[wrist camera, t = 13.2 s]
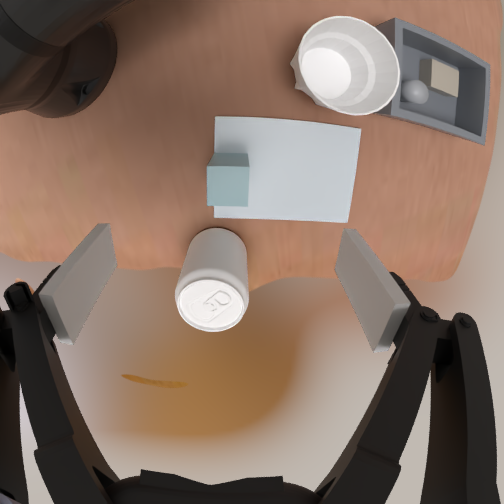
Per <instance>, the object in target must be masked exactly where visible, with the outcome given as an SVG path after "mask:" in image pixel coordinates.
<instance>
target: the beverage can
mask: <svg viewBox="0 0 504 504" xmlns="http://www.w3.org/2000/svg"><path fill="white" fill-rule="evenodd" d="M175 300H176V304H177V307H178V310H179V313H180V315H181V316H182V318H183V319H184V320H185V321H186V322H187V323H188V324H190V325H191V326H193V327H195V328H197V329H200V330H203V331H210V332H216V331H223V330H226V329H229V328H231V327H233V326H234V325H236V324H237V323H238V322H239V321H240V319H241V318H242V316H243V314H244V313H245V311H246V309H247V306H248V302H249V293H248V272H247V252H246V248H245V245H244V243H243V241H242V240H241V239H240V238H239V237H238V236H237V235H236V234H235V233H233V232H231V231H229V230H226V229H222V228H211V229H207V230H204V231H202V232H200V233H199V234H197V235H196V236H195V237H194V238H193V239H192V241H191V243H190V245H189V248H188V251H187V254H186V257H185V261H184V264H183V267H182V270H181V274H180V276H179V280H178V283H177V286H176V290H175Z"/></svg>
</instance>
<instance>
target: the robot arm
mask: <svg viewBox="0 0 504 504" xmlns="http://www.w3.org/2000/svg"><path fill="white" fill-rule="evenodd" d="M132 1H134V0H0V115H1V114H5V113H10V112H15V111H20V110H27V111H30V112H32V113H35V114H37V115H40V116H43V117H47V118H59V117H65V116H70V115H73V114H75V113H78V112H80V111H81V110H83V109H85V108H86V107H87V106H89V105H90V104H91V103H92V102H93V101H94V100H95V99H96V98H97V97H98V96H99V95H100V93H101V92H102V91H103V89H104V88H105V86H106V84H107V83H108V81H109V79H110V77H111V74H112V72H113V69H114V65H115V61H116V54H117V44H116V38H115V35H114V32H113V30H112V28H111V27H110V26H109V24H108V23H107V22H106V21H104V20H103V19H104V18H106V17H107V16H109V15H111V14H112V13H114V12H115V11H117V10H118V9H120V8H122V7H123V6H125V5H127V4H128V3H130V2H132ZM116 267H117V261H116V256H115V251H114V246H113V240H112V235H111V229H110V224H97V225H96V226H95V228H94V229H93V230H92V231H91V232H90V233H89V234H88V235H87V236H86V237H85V238H84V240H83V241H82V242H81V243H80V244H79V245H78V246H77V247H76V249H75V250H74V251H73V252H72V253H71V254H70V255H69V257H68V258H67V259H66V260H65V261H64V263H63V264H62V265H59V266H58V267H56V268H55V269H53V270H52V271H51V272H50V273H49V275H48V276H47V278H45V279H44V281H43V283H41V284H40V286H39V287H38V288H37V290H36V291H35V292H34V293H33V295H32V294H31V291H30V289H29V286H28V284H27V283H26V282H17V283H14V284H13V285H11V286H10V287H8V288H7V289H6V291H5V292H4V298H5V300H6V302H7V304H8V306H9V308H10V310H6V311H2V310H1V308H0V504H29V502H28V491H27V484H26V478H25V471H24V464H23V457H22V446H21V433H20V407H19V405H20V404H19V400H20V399H19V398H20V384H21V388H22V393H23V397H24V401H25V405H26V409H27V413H28V416H29V420H30V423H31V427H32V430H33V433H34V436H35V439H36V442H37V446H38V449H37V450H35V451H34V456H35V460H36V463H37V465H38V468H39V471H40V473H41V475H42V478H43V480H44V483H45V485H46V487H47V489H48V491H49V494H50V496H51V498H52V500H53V502H54V504H385V502H386V500H387V498H388V496H389V494H390V492H391V491H392V489H393V486H394V484H395V482H396V480H397V478H398V476H399V473H400V471H401V466H400V465H399V460H400V457H401V455H402V452H403V450H404V448H405V445H406V443H407V440H408V438H409V435H410V432H411V430H412V427H413V425H414V422H415V419H416V416H417V413H418V410H419V407H420V404H421V401H422V397H423V394H424V391H425V388H426V384H427V380H428V377H429V373H430V371H431V411H430V432H429V445H428V454H427V463H426V470H425V478H424V483H423V489H422V495H421V501H420V504H501V503H500V499H499V493H498V488H497V484H496V476H497V449H496V448H497V447H496V429H495V417H494V408H493V400H492V393H491V387H490V381H489V375H488V370H487V365H486V360H485V356H484V351H483V347H482V343H481V339H480V335H479V331H478V328H477V324H476V322H475V321H474V320H473V318H472V317H471V316H469V315H468V314H465V313H456V314H455V315H454V317H453V319H452V321H449V320H443V319H440V317H439V315H438V313H436V312H435V311H434V310H433V309H431V308H429V307H425V306H421V305H420V303H419V302H418V301H417V299H416V298H415V296H414V295H413V293H412V292H411V291H409V288H408V287H407V286H406V285H405V283H404V281H403V280H402V279H401V277H399V276H398V275H397V274H395V273H394V272H388V270H387V269H386V268H385V266H384V265H383V264H382V262H381V261H380V260H379V258H378V257H377V256H376V254H375V253H374V252H373V250H372V249H371V248H370V247H369V245H368V244H367V243H366V241H365V240H364V239H363V238H362V236H361V235H360V234H359V233H358V231H357V230H356V229H343V233H342V238H341V243H340V248H339V252H338V257H337V261H336V266H335V272H336V274H337V276H338V278H339V280H340V282H341V284H342V286H343V288H344V290H345V292H346V294H347V296H348V298H349V300H350V302H351V304H352V306H353V309H354V310H355V313H356V315H357V317H358V319H359V321H360V324H361V325H362V328H363V330H364V332H365V335H366V337H367V339H368V341H369V344H370V346H371V348H372V350H373V353H374V352H382V351H388V350H389V348H390V346H391V344H392V342H394V344H395V346H396V349H395V351H394V353H393V354H392V356H391V358H390V360H389V362H388V367H387V369H386V372H385V373H384V376H383V378H382V380H381V382H380V384H379V386H378V389H377V391H376V393H375V395H374V397H373V399H372V401H371V403H370V405H369V407H368V409H367V411H366V413H365V414H364V417H363V418H362V420H361V422H360V424H359V425H358V427H357V429H356V431H355V432H354V434H353V436H352V438H351V439H350V441H349V443H348V444H347V446H346V448H345V449H344V451H343V452H342V454H341V456H340V457H339V459H338V460H337V462H336V464H335V465H334V467H333V468H332V469H331V471H330V472H329V474H328V475H327V476H326V477H325V479H324V480H323V481H322V482H321V484H320V485H319V486H318V487H317V489H316V490H315V491H314V492H313V491H311V490H309V489H307V488H304V487H302V486H299V485H296V484H291V483H286V482H283V477H282V476H276V477H256V478H245V479H240V480H236V481H231V482H226V483H221V484H215V485H207V484H204V483H200V482H196V481H193V480H190V479H187V478H184V477H181V476H178V475H175V474H169V473H161V472H154V471H148V470H142V469H141V474H140V476H134V477H129V478H125V479H122V480H120V479H119V478H118V477H117V475H116V474H115V473H114V472H113V470H112V469H111V468H110V467H109V465H108V464H107V462H106V461H105V459H104V457H103V455H102V453H101V452H100V450H99V448H98V447H97V444H96V442H95V441H94V439H93V437H92V435H91V433H90V431H89V429H88V427H87V425H86V423H85V421H84V418H83V416H82V414H81V412H80V410H79V407H78V405H77V403H76V401H75V398H74V396H73V393H72V391H71V388H70V386H69V383H68V380H67V378H66V375H65V372H64V370H63V367H62V364H61V361H60V358H59V355H58V352H57V349H56V346H55V343H54V341H53V337H54V336H55V334H56V335H57V337H58V339H59V341H60V343H65V344H70V345H74V343H75V341H76V339H77V337H78V335H79V333H80V331H81V329H82V327H83V325H84V323H85V321H86V320H87V318H88V316H89V314H90V312H91V310H92V308H93V307H94V305H95V303H96V301H97V299H98V298H99V296H100V294H101V292H102V290H103V289H104V287H105V285H106V284H107V282H108V280H109V278H110V277H111V275H112V273H113V272H114V270H115V268H116Z"/></svg>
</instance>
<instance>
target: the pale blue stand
mask: <svg viewBox="0 0 504 504" xmlns="http://www.w3.org/2000/svg"><path fill="white" fill-rule="evenodd" d="M360 135H361V129H359V128H353V127H347V126H340V125H333V124H326V123H318V122H309V121H300V120H289V119H276V118H260V117H232V116H215V145H214V154H213V156H212V158H211V160H210V161H209V163H208V165H207V206H214V218H245V219H277V220H302V221H323V222H342V223H347V222H348V216H349V211H350V205H351V199H352V193H353V187H354V180H355V174H356V167H357V160H358V152H359V144H360Z"/></svg>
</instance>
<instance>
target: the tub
mask: <svg viewBox="0 0 504 504" xmlns="http://www.w3.org/2000/svg"><path fill="white" fill-rule="evenodd" d="M375 28H376V29H377V30H378V31H380V32H381V33H382V34H383V35H384V36H385V37H386V38H387V40H388V41H389V43H390V44H391V45H392V47H393V49H394V51H395V53H396V56H397V58H398V62H399V68H400V78H399V85H398V88H397V91H396V93H395V95H394V97H393V98H392V99H391V101H390V102H389V103H388V104H387V105H386V106H384V107H383V108H382V109H380V110H379V111H377V112H374V113H373V114H378V115H382V116H386V117H391V118H395V119H399V120H403V121H406V122H410V123H414V124H417V125H421V126H424V127H428V128H431V129H434V130H437V131H440V132H443V133H447V134H449V135H452V136H455V137H459V138H462V139H466V140H469V141H472V142H475V143H478V144H481V145H485V138H486V131H487V122H488V111H489V96H490V64H488V63H487V62H485V61H484V60H482V59H480V58H479V57H477V56H475V55H474V54H472V53H470V52H468V51H467V50H465V49H463V48H461V47H459V46H458V45H456V44H454V43H452V42H450V41H448V40H446V39H444V38H442V37H440V36H438V35H436V34H434V33H431V32H429V31H427V30H425V29H422V28H420V27H418V26H415V25H413V24H410V23H408V22H405V21H403V20H400V19H397V18H393V19H390V20H388V21H386V22H384V23H381V24H379V25H377V26H375Z"/></svg>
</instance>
